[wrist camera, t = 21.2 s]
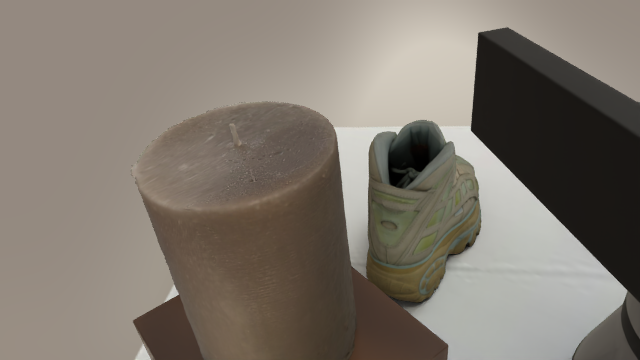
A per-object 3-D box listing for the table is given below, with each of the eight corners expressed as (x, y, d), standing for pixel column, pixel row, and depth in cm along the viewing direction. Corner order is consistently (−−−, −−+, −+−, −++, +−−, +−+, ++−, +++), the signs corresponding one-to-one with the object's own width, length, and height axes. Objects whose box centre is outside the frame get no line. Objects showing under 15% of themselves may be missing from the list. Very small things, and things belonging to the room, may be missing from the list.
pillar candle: (385, 363, 29) (375, 138, 20) (220, 434, 26) (129, 212, 18) (321, 258, 36) (295, 62, 28) (189, 305, 34) (115, 107, 25)
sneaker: (523, 212, 54) (528, 81, 46) (419, 327, 43) (403, 184, 36) (437, 185, 61) (429, 68, 53) (330, 278, 51) (300, 150, 43)
